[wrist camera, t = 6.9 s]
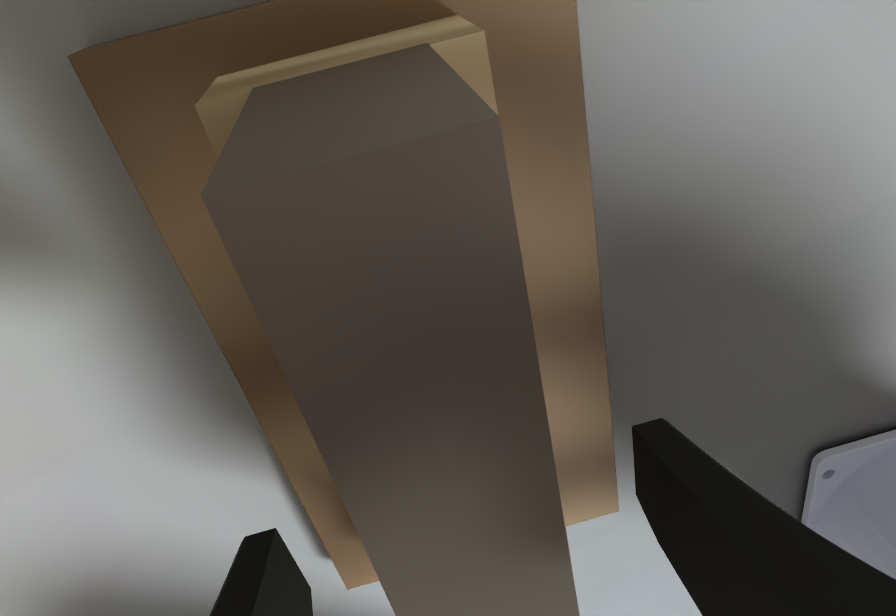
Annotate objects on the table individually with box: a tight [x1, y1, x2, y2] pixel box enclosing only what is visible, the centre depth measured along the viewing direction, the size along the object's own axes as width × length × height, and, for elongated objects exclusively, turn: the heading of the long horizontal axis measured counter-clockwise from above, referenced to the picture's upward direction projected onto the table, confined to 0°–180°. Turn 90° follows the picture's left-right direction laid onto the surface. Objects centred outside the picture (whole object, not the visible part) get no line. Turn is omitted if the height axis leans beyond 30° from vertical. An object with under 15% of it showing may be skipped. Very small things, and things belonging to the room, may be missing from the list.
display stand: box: [67, 0, 619, 590], centre depth 16 cm, size 18×10×4 cm, turn 12°
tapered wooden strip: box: [201, 43, 579, 616], centre depth 12 cm, size 16×3×5 cm, turn 12°
